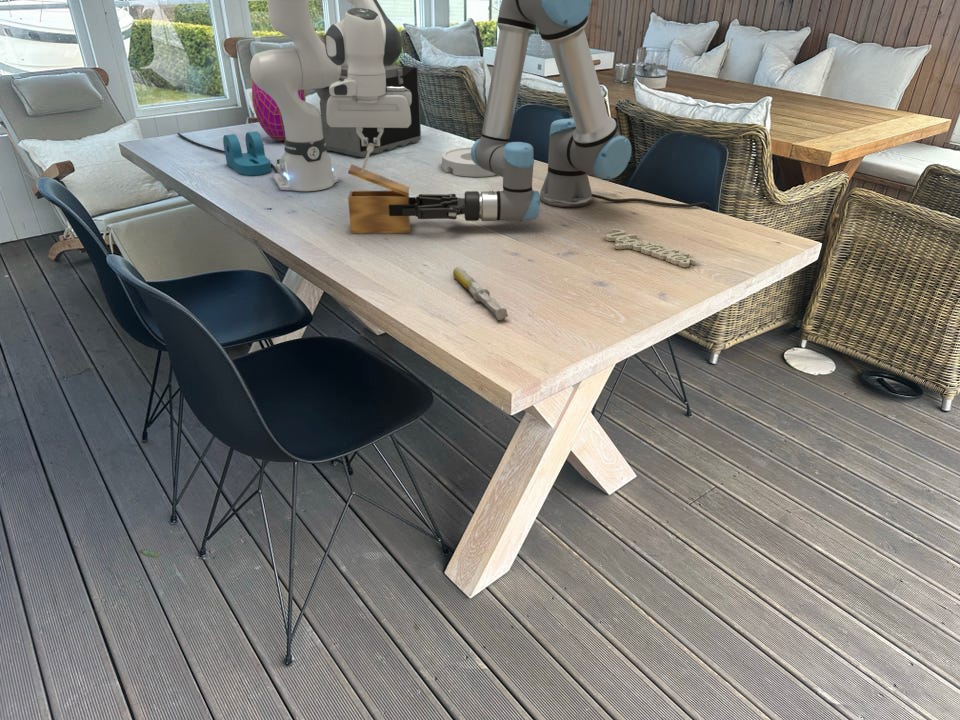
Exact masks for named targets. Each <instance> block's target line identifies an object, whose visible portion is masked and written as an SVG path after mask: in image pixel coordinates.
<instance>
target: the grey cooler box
mask: <svg viewBox="0 0 960 720" xmlns="http://www.w3.org/2000/svg"><path fill="white" fill-rule="evenodd" d="M384 68H385V75H386V86H394V87H405V88H406V89H408V90H410V92H411V94H412V103H411V105H410V112H411V125H410V126H409V127H408V128H384V132H383V134H382V136H381V138H380V146H374V149H373V152H371V153H370V154H375V155H377V154H381V153H382V152H383V151H391V150H395V149H396V148H397V147H405V146H407V145H408V144H416V143H418V142H419V141H421V137H422V128H421V97H420V92H419V91H420V89H419V68H418V67H417V66H408V65H400V64H396V61H395V62H394V63H393V64H392V65H391V66H384ZM347 72H348V66H347V67H343V66H341V76H340V79H339V81H340V80H342V79H346V78H348V74H347ZM329 87H330V86H328V87H325V88H319V89H314V91H315V93H316V94H317V96H318V98H319V111H320V114H321V120H322V130H323V137H324V138H325V142H326V150H325V151H330V152H335V153H340V154H344V155H348V156H353V157H357V158H362V159H363V158H366V155H367V152H368V151H367V146H362V142H361V139H360V137H359V136H358V134H357V132H356V127H330V126H329V125H328V124H327V117H326V110H327V101H328V99H329V98H330V96H331V95H330V92H329ZM405 91H406V90H405ZM386 93H387V91H386ZM379 133H380V132H378V131H377V128H366V127H363V130H362V134H363V135H364V137H366V138H368V144H369V143H373V144H374V142H373V139H374V138H377V137H378V135H379Z"/></svg>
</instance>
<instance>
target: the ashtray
mask: <svg viewBox="0 0 960 720" xmlns="http://www.w3.org/2000/svg"><path fill="white" fill-rule="evenodd" d="M471 148H472V146H467V147H457V148H451V149H448V150H446V151H444V152H443V153H442V154H441V169H442V170H443V171H444V172H446V173H452V174H453V175H455V176H460V177H461V176H462V177H472V178H473V177H474V178H478V177H479V178H481V177H483V178H485V177H494V176H498V175H497V174H495V173H493V172H490V171H488V170H485V169H482V168H481V167H480V166H478V165H476V164H475V163H474V162H473V160H472V158H471Z"/></svg>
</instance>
